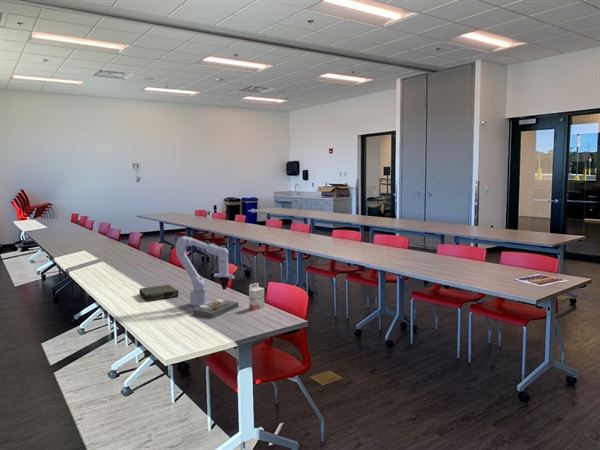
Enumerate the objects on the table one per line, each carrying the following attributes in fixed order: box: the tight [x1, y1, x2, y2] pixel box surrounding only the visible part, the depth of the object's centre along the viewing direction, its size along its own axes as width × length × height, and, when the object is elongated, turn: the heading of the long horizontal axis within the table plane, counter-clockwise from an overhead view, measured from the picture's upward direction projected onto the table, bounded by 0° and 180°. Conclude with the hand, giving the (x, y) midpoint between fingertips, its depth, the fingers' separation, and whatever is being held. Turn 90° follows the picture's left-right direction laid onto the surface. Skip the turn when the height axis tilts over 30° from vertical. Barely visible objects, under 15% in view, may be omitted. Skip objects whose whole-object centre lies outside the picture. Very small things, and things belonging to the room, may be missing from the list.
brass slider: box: [211, 300, 220, 309], centre depth 260 cm, size 3×3×4 cm
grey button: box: [198, 305, 209, 310], centre depth 261 cm, size 4×4×2 cm
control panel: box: [192, 299, 239, 319], centre depth 266 cm, size 14×24×3 cm, turn 150°
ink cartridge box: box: [248, 282, 265, 311], centre depth 270 cm, size 9×5×15 cm, turn 141°
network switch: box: [139, 284, 179, 302], centre depth 303 cm, size 23×23×5 cm
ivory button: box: [215, 298, 226, 304], centre depth 274 cm, size 4×4×2 cm
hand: (224, 289), depth 280 cm, fingers closed
